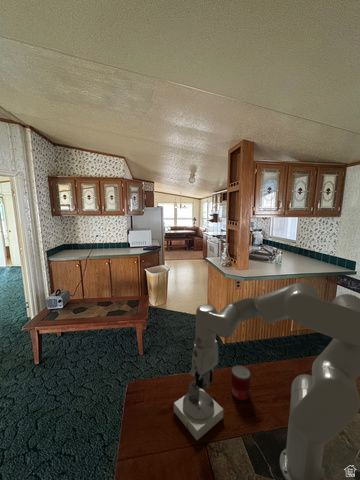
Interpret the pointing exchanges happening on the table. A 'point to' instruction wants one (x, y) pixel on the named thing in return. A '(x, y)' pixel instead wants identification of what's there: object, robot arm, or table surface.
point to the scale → (198, 426)
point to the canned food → (240, 382)
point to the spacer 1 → (193, 392)
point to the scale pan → (199, 406)
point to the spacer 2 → (206, 379)
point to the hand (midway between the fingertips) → (203, 382)
